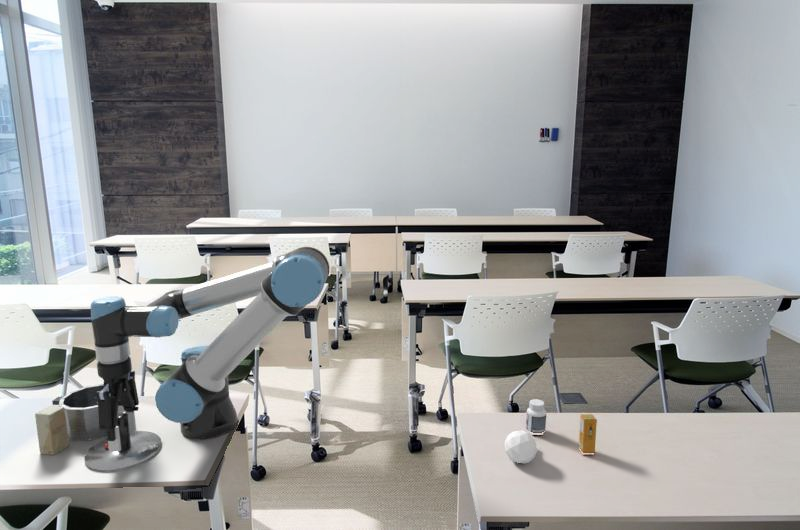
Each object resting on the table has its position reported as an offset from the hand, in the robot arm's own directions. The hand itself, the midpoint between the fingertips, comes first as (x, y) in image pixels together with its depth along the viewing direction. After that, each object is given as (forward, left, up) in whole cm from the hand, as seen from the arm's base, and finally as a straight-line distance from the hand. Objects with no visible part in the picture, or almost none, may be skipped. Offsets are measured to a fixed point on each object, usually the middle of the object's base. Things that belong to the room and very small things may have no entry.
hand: (123, 442), depth 135 cm
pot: (+15, -13, -3) cm, 20 cm away
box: (+19, -1, -3) cm, 19 cm away
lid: (0, 0, -3) cm, 3 cm away
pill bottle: (-109, -13, -3) cm, 110 cm away
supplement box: (-120, -3, -3) cm, 120 cm away
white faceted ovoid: (-103, 0, -3) cm, 103 cm away
